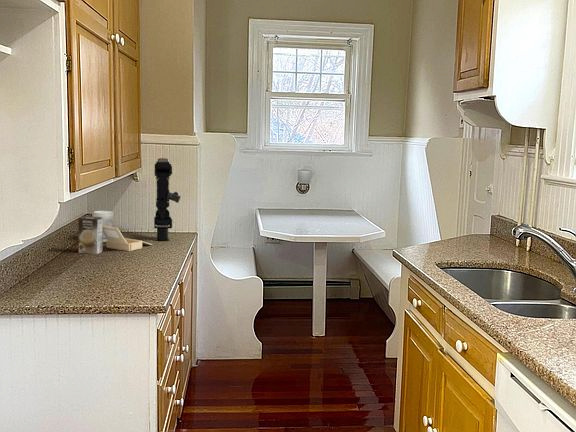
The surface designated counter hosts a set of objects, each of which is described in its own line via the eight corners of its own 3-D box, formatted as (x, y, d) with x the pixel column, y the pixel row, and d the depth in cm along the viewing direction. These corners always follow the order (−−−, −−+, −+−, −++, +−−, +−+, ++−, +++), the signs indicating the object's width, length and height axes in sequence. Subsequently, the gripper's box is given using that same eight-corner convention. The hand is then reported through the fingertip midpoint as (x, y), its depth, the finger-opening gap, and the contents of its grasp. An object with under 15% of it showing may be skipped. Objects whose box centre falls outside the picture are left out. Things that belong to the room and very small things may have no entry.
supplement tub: (89, 241, 298) (88, 212, 296) (101, 238, 307) (101, 210, 305) (105, 243, 295) (105, 213, 293) (117, 240, 304) (117, 211, 302)
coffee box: (77, 253, 270) (77, 217, 268) (84, 250, 277) (83, 215, 274) (97, 254, 270) (97, 218, 267) (103, 251, 276) (102, 216, 274)
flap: (98, 225, 277) (97, 225, 276) (117, 227, 271) (116, 228, 271) (108, 239, 283) (107, 240, 283) (127, 242, 277) (126, 243, 277)
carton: (131, 242, 300) (131, 234, 299) (154, 245, 293) (154, 238, 292) (105, 247, 284) (105, 239, 284) (129, 251, 277) (129, 243, 277)
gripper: (180, 189, 283) (179, 222, 285) (179, 185, 301) (178, 216, 303) (155, 189, 281) (155, 222, 283) (156, 185, 299) (156, 216, 301)
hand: (162, 219), depth 292 cm, fingers closed
